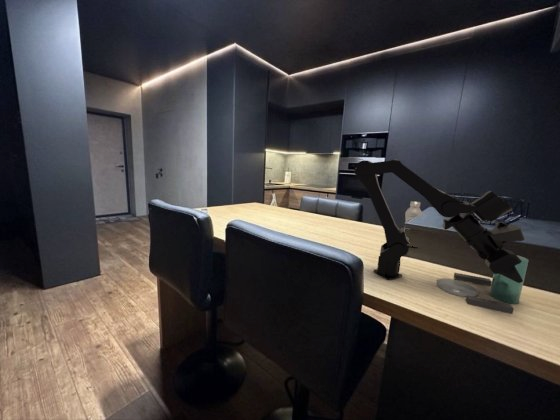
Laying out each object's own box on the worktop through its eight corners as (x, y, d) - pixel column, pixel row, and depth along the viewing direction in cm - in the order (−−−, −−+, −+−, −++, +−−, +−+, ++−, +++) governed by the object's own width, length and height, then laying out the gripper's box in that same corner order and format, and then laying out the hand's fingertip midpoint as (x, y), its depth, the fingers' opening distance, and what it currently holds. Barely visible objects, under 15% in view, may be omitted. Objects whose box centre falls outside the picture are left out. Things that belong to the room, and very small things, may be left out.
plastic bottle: (420, 248, 103) (427, 203, 99) (403, 247, 104) (409, 202, 100) (415, 244, 109) (421, 201, 105) (399, 242, 111) (405, 200, 107)
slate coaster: (463, 300, 64) (463, 298, 64) (428, 283, 73) (428, 281, 73) (485, 293, 68) (486, 291, 68) (449, 277, 77) (450, 276, 77)
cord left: (455, 279, 76) (455, 275, 76) (453, 276, 78) (454, 272, 78) (490, 286, 72) (491, 281, 72) (488, 283, 74) (489, 278, 74)
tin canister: (511, 305, 62) (521, 263, 60) (484, 294, 68) (492, 254, 65) (523, 301, 65) (533, 259, 62) (497, 290, 70) (505, 251, 68)
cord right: (467, 303, 63) (468, 298, 63) (465, 300, 65) (466, 295, 64) (512, 313, 59) (513, 308, 59) (508, 309, 61) (510, 304, 61)
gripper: (518, 222, 55) (573, 276, 52) (490, 208, 71) (531, 249, 69) (470, 248, 60) (518, 299, 57) (454, 230, 76) (491, 269, 74)
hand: (515, 276), depth 64 cm, fingers closed on tin canister, 6 cm apart
